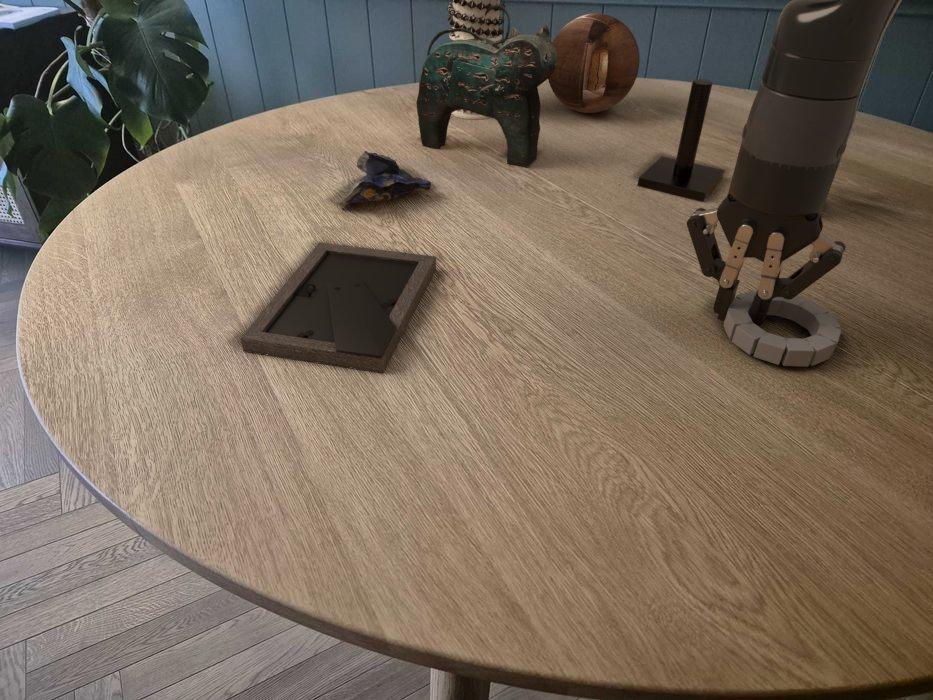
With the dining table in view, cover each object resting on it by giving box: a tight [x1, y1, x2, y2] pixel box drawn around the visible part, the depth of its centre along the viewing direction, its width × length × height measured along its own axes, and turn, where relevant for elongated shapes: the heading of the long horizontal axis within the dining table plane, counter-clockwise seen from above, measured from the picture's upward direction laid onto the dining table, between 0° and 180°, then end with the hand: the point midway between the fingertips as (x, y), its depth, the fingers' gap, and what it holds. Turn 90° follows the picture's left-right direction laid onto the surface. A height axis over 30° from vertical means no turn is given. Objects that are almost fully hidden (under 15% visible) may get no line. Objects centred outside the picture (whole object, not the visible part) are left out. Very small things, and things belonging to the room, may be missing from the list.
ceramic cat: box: [416, 5, 557, 168], centre depth 91 cm, size 20×6×20 cm, turn 63°
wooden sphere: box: [547, 12, 641, 114], centre depth 108 cm, size 15×15×15 cm
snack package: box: [335, 150, 432, 210], centre depth 84 cm, size 12×6×12 cm
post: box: [637, 78, 726, 203], centre depth 86 cm, size 9×9×13 cm
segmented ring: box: [723, 289, 843, 368], centre depth 61 cm, size 10×10×2 cm
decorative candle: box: [446, 0, 506, 120], centre depth 105 cm, size 9×9×25 cm
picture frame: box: [239, 242, 437, 374], centre depth 65 cm, size 13×2×18 cm
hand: (736, 320), depth 63 cm, fingers closed on segmented ring, 2 cm apart
